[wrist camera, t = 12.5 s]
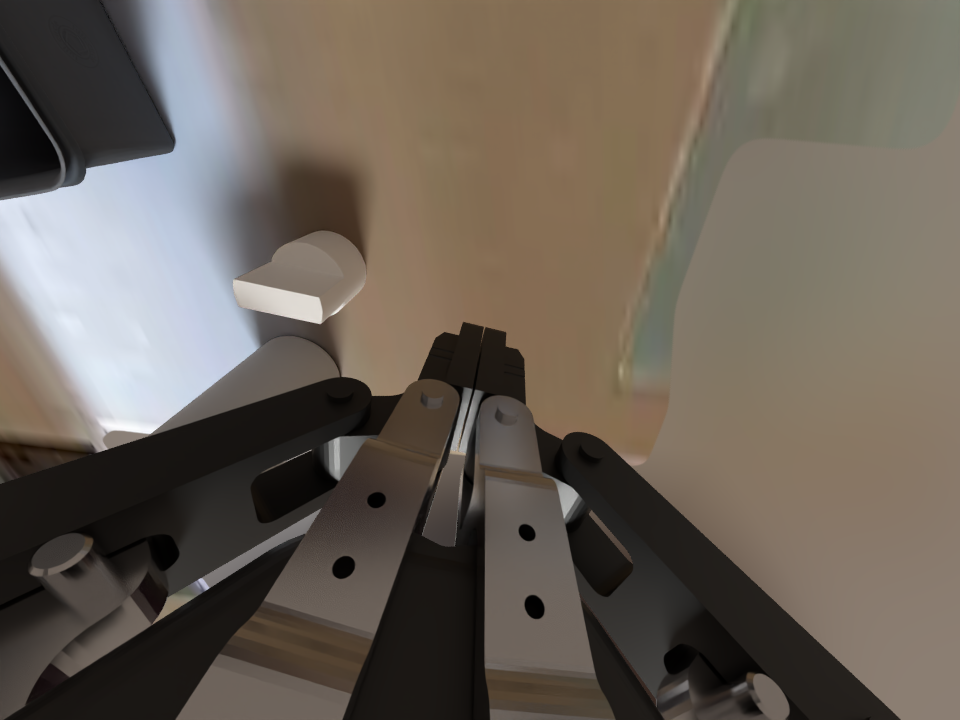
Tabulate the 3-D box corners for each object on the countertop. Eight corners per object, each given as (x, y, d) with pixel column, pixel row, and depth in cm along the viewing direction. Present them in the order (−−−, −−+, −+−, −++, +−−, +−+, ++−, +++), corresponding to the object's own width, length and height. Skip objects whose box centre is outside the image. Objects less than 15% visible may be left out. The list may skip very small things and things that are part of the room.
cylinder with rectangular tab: (301, 291, 47) (242, 331, 37) (294, 223, 42) (224, 248, 32) (366, 305, 47) (325, 349, 37) (366, 239, 42) (319, 268, 32)
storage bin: (212, 173, 40) (80, 185, 28) (103, 192, 42) (-63, 211, 30) (74, -112, 29) (-245, -297, 17) (-63, -65, 31) (-430, -197, 19)
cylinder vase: (295, 318, 49) (129, 448, 28) (358, 378, 54) (256, 528, 33) (247, 358, 54) (74, 496, 33) (309, 410, 59) (193, 559, 38)
